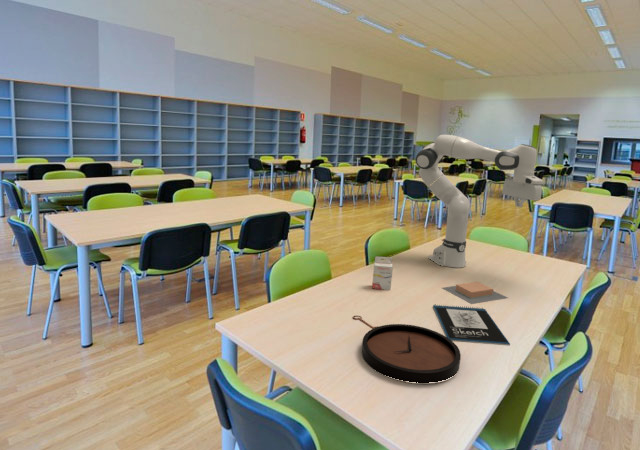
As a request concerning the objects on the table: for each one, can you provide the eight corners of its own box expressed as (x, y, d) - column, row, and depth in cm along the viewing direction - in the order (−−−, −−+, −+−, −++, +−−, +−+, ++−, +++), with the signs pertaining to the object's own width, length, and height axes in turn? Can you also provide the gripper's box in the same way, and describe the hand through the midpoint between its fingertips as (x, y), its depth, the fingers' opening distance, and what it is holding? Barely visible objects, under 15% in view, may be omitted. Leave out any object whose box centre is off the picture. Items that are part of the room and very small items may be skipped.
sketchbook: (447, 342, 148) (448, 337, 147) (432, 307, 177) (432, 303, 177) (509, 346, 146) (510, 341, 146) (483, 311, 176) (484, 306, 175)
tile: (476, 287, 200) (455, 290, 195) (477, 281, 199) (456, 284, 194) (492, 295, 191) (470, 298, 186) (493, 289, 190) (471, 292, 185)
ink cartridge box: (372, 289, 194) (374, 259, 190) (372, 285, 198) (374, 255, 195) (390, 290, 193) (393, 260, 190) (390, 286, 198) (392, 257, 194)
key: (387, 332, 154) (362, 316, 166) (387, 329, 153) (362, 313, 166) (375, 334, 150) (350, 317, 163) (375, 331, 150) (351, 315, 163)
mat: (441, 289, 198) (441, 287, 197) (476, 284, 206) (476, 282, 206) (471, 305, 180) (471, 304, 180) (508, 299, 188) (508, 297, 188)
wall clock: (435, 386, 114) (343, 346, 133) (433, 399, 115) (342, 357, 134) (475, 344, 138) (392, 316, 157) (473, 355, 139) (391, 325, 158)
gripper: (501, 176, 208) (497, 203, 212) (536, 181, 190) (531, 210, 193) (510, 176, 211) (506, 202, 214) (546, 181, 193) (541, 210, 196)
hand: (518, 206), depth 204 cm, fingers closed
